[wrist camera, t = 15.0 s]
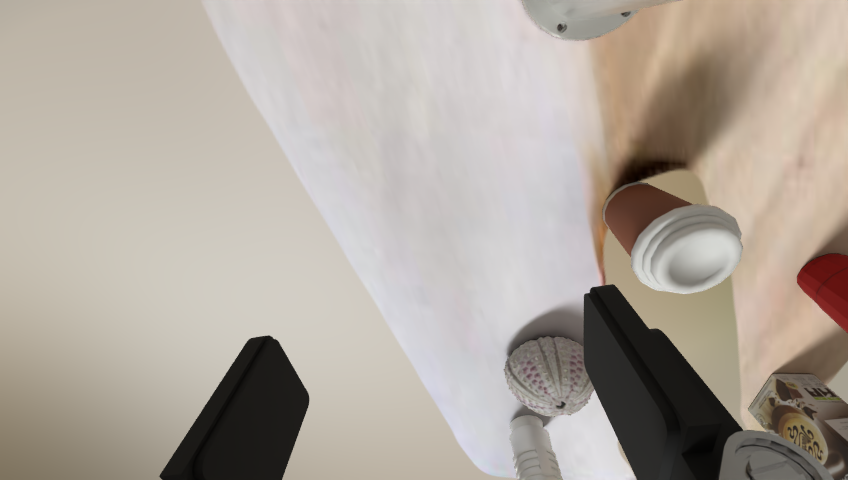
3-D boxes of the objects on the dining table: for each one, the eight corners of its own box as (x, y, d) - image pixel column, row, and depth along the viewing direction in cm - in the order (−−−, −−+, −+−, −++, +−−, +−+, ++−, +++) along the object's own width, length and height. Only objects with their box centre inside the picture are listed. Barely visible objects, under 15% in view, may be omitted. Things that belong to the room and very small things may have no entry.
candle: (551, 415, 59) (584, 518, 46) (539, 438, 63) (567, 541, 49) (512, 411, 59) (534, 514, 46) (502, 435, 62) (521, 537, 49)
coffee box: (770, 372, 53) (892, 490, 39) (813, 373, 52) (953, 491, 38) (745, 410, 57) (847, 527, 43) (785, 410, 57) (901, 529, 43)
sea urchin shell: (574, 391, 56) (594, 439, 49) (493, 384, 56) (501, 431, 49) (602, 332, 50) (629, 377, 43) (510, 323, 50) (523, 368, 43)
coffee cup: (689, 184, 39) (783, 234, 28) (640, 249, 43) (707, 314, 32) (618, 159, 38) (689, 201, 27) (576, 229, 42) (623, 288, 31)
